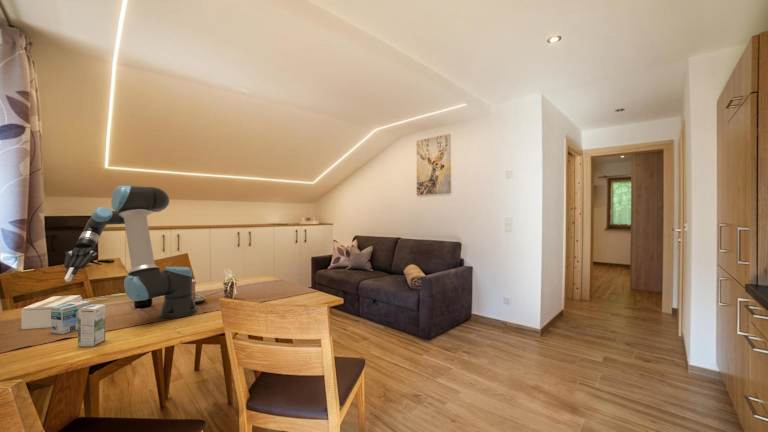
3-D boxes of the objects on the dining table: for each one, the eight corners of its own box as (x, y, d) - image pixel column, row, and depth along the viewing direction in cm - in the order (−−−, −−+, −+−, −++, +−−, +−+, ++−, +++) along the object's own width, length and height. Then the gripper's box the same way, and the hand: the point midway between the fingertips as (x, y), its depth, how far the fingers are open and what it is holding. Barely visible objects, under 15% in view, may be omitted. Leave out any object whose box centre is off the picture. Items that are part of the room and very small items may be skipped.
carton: (51, 315, 154) (51, 296, 154) (82, 313, 158) (82, 294, 157) (21, 329, 137) (21, 307, 137) (56, 326, 140) (56, 305, 140)
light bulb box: (62, 334, 133) (62, 308, 132) (50, 333, 134) (49, 307, 134) (91, 325, 143) (90, 301, 143) (79, 324, 144) (78, 300, 144)
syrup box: (90, 340, 127) (89, 304, 127) (106, 340, 128) (105, 304, 127) (77, 346, 122) (77, 308, 121) (94, 346, 122) (94, 308, 122)
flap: (52, 298, 154) (52, 296, 154) (80, 296, 157) (80, 294, 157) (38, 304, 146) (38, 302, 146) (68, 302, 149) (68, 300, 149)
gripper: (104, 246, 176) (87, 283, 161) (75, 246, 172) (54, 285, 157) (99, 237, 171) (80, 275, 155) (68, 237, 167) (46, 276, 152)
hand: (67, 280), depth 156 cm, fingers closed
